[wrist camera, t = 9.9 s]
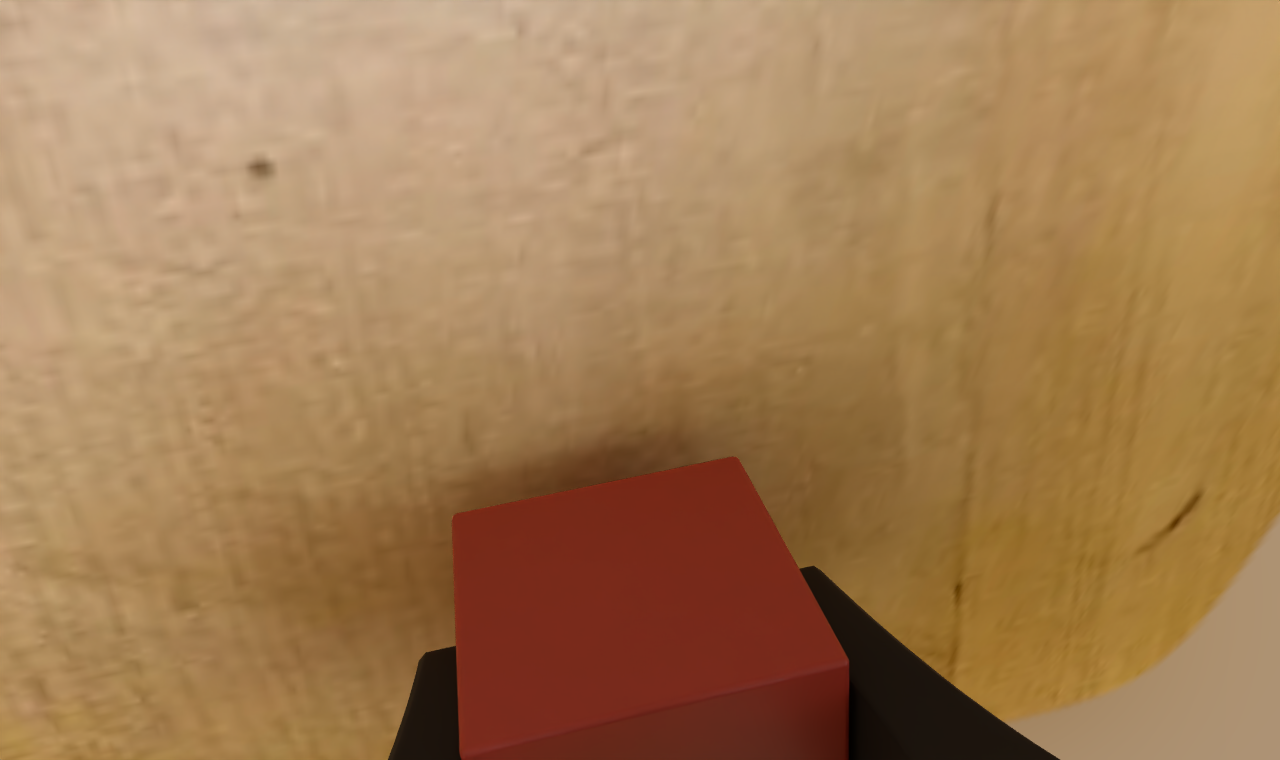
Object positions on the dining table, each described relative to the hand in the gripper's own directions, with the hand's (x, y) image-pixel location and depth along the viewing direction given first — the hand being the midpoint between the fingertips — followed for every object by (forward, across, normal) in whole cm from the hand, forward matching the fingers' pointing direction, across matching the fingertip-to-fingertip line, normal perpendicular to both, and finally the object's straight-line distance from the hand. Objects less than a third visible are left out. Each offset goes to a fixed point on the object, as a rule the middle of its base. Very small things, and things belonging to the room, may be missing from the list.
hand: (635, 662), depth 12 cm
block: (+1, 0, 0) cm, 1 cm away
